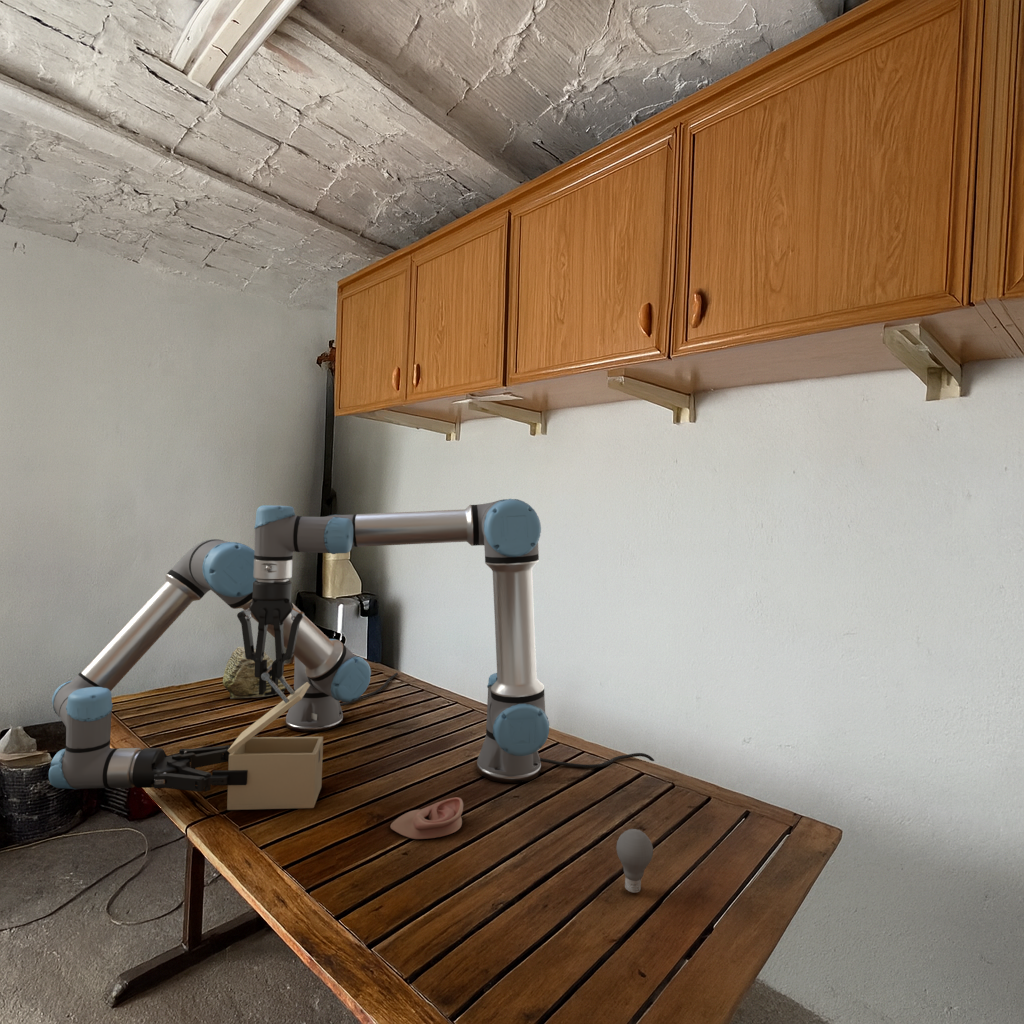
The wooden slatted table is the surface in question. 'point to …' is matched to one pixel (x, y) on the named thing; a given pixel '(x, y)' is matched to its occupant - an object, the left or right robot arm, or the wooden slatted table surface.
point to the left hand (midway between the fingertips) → (253, 766)
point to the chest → (277, 773)
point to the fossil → (245, 676)
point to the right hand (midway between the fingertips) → (268, 692)
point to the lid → (274, 712)
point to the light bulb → (634, 857)
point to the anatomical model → (431, 820)
